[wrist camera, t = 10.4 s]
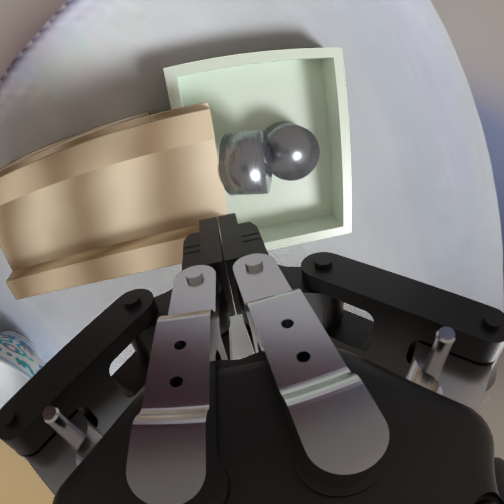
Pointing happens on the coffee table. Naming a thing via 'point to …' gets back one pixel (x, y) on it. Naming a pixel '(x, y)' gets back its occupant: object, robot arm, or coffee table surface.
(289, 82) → the tray
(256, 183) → the puck
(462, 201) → the coffee table surface
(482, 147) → the coffee table surface
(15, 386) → the chinaware
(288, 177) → the puck
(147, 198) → the slotted board
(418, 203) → the coffee table surface
